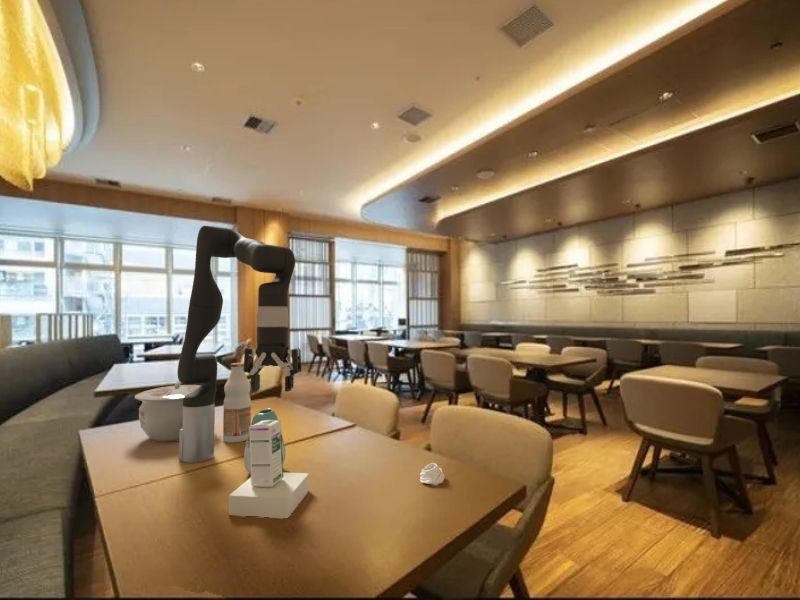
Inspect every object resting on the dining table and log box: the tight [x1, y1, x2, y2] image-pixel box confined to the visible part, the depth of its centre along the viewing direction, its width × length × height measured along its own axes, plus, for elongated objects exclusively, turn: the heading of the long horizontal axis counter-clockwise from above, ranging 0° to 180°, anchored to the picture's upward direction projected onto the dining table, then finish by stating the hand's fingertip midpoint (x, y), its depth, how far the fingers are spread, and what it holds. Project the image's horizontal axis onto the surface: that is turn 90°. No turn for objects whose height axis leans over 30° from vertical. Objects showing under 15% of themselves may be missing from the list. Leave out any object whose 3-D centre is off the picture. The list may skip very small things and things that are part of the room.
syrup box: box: [249, 419, 284, 487], centre depth 97 cm, size 6×6×14 cm
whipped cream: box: [419, 462, 445, 485], centre depth 108 cm, size 8×7×5 cm
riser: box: [228, 471, 310, 519], centre depth 96 cm, size 14×14×5 cm
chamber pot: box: [134, 381, 201, 442], centre depth 150 cm, size 28×28×21 cm
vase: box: [243, 408, 286, 475], centre depth 115 cm, size 12×12×18 cm
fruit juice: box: [222, 362, 252, 444], centre depth 146 cm, size 9×9×28 cm
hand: (272, 390), depth 97 cm, fingers open, 8 cm apart
